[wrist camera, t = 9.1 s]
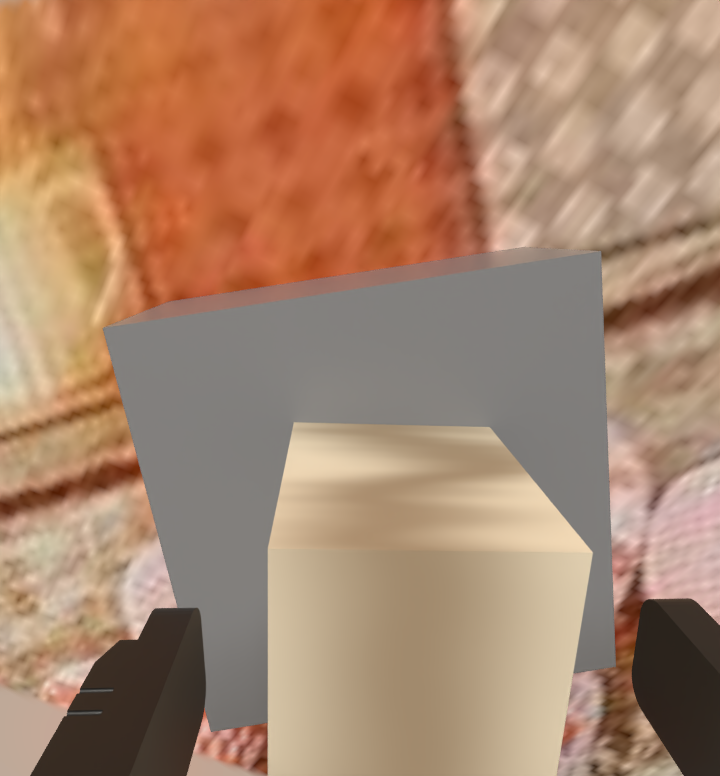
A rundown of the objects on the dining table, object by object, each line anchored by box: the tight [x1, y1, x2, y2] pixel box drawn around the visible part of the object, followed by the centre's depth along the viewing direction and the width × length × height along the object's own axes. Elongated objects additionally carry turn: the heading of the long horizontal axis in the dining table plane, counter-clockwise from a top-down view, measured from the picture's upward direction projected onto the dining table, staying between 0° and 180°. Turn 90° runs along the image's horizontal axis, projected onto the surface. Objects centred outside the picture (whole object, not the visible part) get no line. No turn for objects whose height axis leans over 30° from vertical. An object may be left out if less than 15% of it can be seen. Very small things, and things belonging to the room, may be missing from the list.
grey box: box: [103, 247, 616, 732], centre depth 18 cm, size 12×12×6 cm
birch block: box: [268, 422, 593, 776], centre depth 12 cm, size 5×5×6 cm
